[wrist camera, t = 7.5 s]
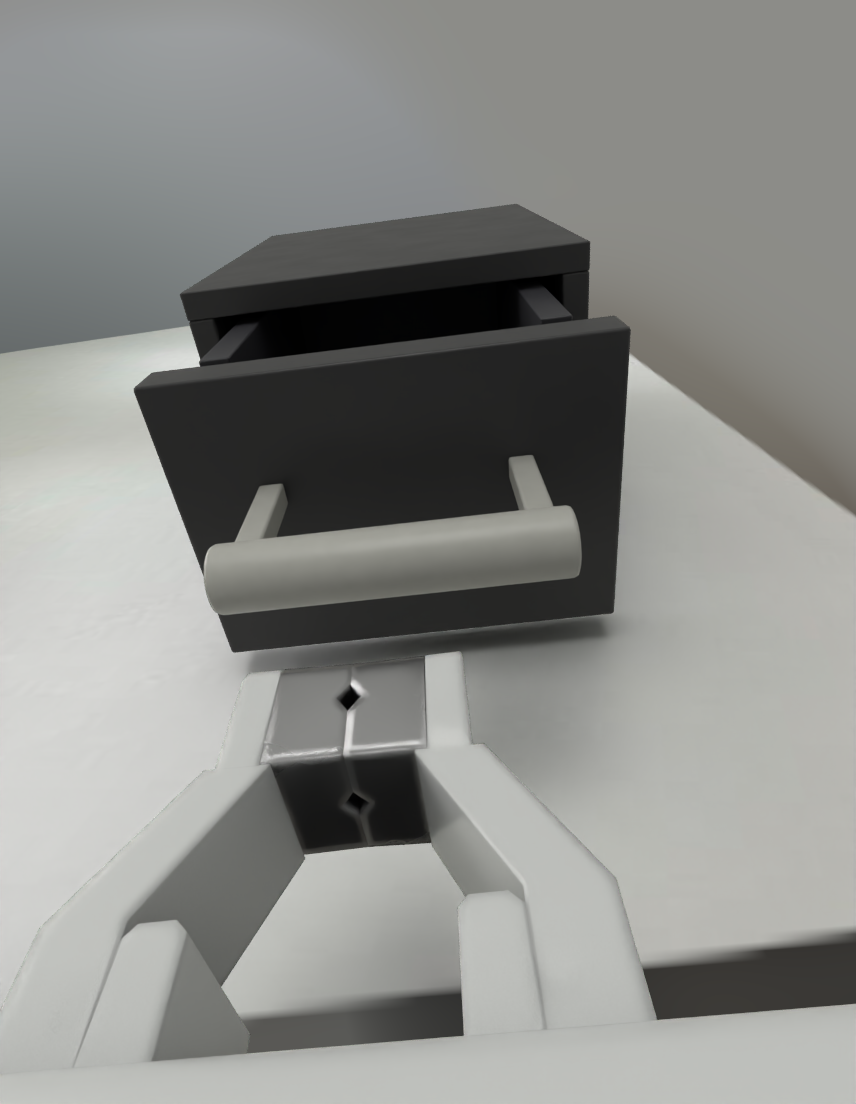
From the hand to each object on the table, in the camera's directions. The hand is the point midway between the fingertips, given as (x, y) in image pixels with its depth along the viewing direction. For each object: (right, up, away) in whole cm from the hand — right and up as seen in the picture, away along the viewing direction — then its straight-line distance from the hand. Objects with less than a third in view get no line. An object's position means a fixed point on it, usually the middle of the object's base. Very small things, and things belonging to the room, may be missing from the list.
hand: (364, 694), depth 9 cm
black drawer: (+1, +2, +13) cm, 13 cm away
